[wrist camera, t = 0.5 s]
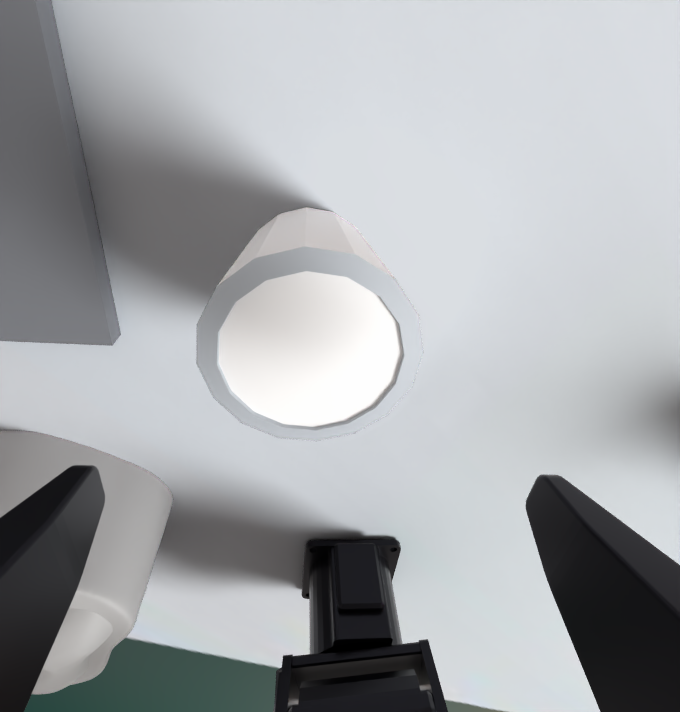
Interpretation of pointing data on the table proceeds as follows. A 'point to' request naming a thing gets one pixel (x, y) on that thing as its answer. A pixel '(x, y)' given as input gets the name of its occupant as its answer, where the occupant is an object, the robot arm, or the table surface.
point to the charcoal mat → (45, 194)
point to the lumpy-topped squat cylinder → (92, 548)
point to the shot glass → (309, 331)
